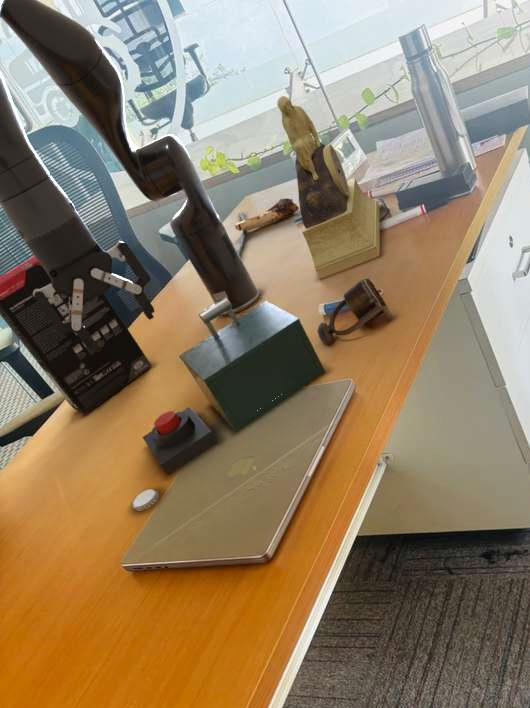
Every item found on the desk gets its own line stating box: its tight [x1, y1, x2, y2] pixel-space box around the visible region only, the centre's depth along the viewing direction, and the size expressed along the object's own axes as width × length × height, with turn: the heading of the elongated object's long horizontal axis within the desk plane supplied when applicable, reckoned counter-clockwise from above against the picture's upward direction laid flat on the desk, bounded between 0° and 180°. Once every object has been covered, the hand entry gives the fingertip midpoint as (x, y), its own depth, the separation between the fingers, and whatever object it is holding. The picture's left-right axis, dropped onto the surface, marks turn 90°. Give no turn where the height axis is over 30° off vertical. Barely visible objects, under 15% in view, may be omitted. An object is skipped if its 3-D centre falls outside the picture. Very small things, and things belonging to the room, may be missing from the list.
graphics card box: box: [0, 255, 152, 415], centre depth 128 cm, size 17×7×27 cm, turn 135°
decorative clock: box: [276, 95, 381, 280], centre depth 137 cm, size 28×13×30 cm, turn 179°
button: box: [153, 410, 181, 434], centre depth 105 cm, size 4×4×2 cm
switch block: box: [142, 406, 219, 476], centre depth 107 cm, size 12×9×4 cm
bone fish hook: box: [234, 197, 300, 231], centre depth 180 cm, size 9×5×18 cm
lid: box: [178, 297, 302, 384], centre depth 104 cm, size 14×17×5 cm
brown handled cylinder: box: [317, 277, 392, 345], centre depth 113 cm, size 7×13×10 cm
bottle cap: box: [131, 488, 160, 512], centre depth 99 cm, size 4×4×1 cm
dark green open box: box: [183, 322, 326, 432], centre depth 108 cm, size 13×17×9 cm
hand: (124, 333), depth 96 cm, fingers open, 8 cm apart
